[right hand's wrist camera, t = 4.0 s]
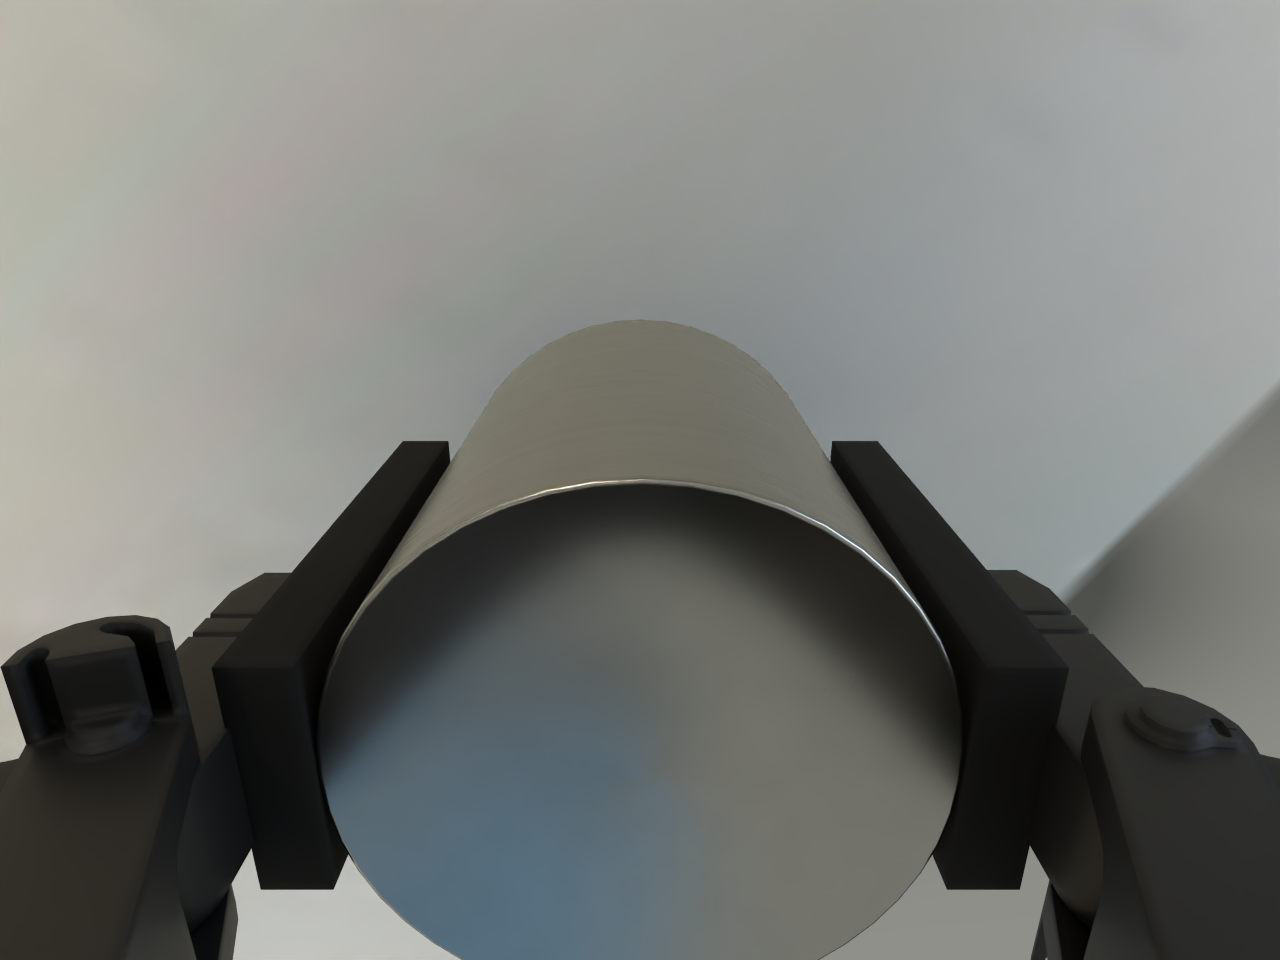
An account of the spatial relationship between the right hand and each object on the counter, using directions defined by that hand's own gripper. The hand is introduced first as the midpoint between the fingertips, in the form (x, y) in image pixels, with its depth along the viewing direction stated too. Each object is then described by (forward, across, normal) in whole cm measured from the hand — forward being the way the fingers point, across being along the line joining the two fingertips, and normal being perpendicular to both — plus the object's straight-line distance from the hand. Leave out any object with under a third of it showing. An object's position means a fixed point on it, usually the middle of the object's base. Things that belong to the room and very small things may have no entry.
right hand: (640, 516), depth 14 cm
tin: (+1, 0, 0) cm, 1 cm away
